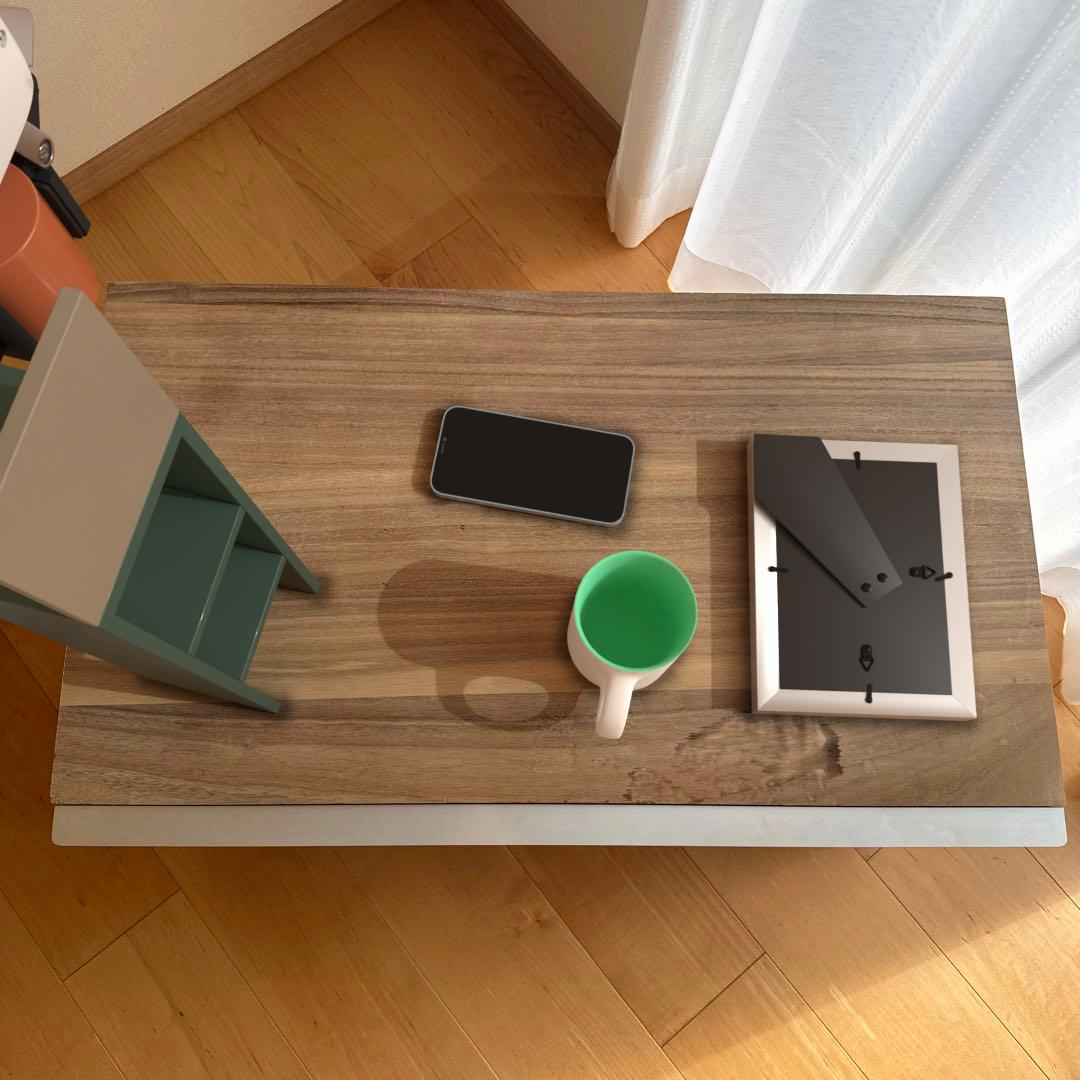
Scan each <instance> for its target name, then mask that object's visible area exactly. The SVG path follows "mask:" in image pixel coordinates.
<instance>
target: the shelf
mask: <svg viewBox="0 0 1080 1080" xmlns="http://www.w3.org/2000/svg"><path fill="white" fill-rule="evenodd" d="M27 365H28V366H27V368H26V369H22V368H18V367H14V366H10V365H6V364H2V363H0V619H1V620H4V621H6V622H9V623H11V624H13V625H16V626H18V627H21V628H23V629H26V630H29V631H31V632H32V633H36V634H38V635H40V636H43V637H46V638H48V639H50V640H53V641H55V642H58V643H60V644H63V645H64V646H67V647H69V648H72V649H75V650H77V651H79V652H82V653H83V654H87V655H90V656H92V657H94V658H97V659H99V660H101V661H103V662H107V663H109V664H112V665H114V666H117V667H118V668H121V669H124V670H126V671H129V672H131V673H134V674H136V675H139V676H141V677H143V678H146V679H148V680H152V681H156V682H160V683H163V684H167V685H170V686H174V687H177V688H182V689H185V690H188V691H192V692H196V693H200V694H203V695H208V696H211V697H214V698H218V699H222V700H225V701H229V702H232V703H235V704H240V705H244V706H246V707H247V706H248V707H251V708H254V709H259V710H262V711H265V712H270V713H271V714H272V713H273V714H276V715H277V714H279V711H280V708H281V705H282V703H281V702H280V701H277V700H275V699H274V698H272V697H270V696H268V695H266V694H264V693H262V692H260V691H259V690H257V689H255V688H253V687H252V686H249V685H248V684H245V683H246V680H247V677H248V674H249V671H250V668H251V665H252V662H253V659H254V656H255V653H256V651H257V648H258V645H259V642H260V639H261V635H262V633H263V630H264V627H265V624H266V621H267V618H268V616H269V612H270V609H271V606H272V603H273V600H274V597H275V594H276V591H277V588H278V585H282V586H286V587H289V588H292V589H293V588H294V589H297V590H300V591H304V592H308V593H310V594H311V593H313V594H318V592H319V589H320V586H321V584H320V582H319V581H318V580H317V579H316V578H315V576H314V574H312V572H310V570H309V569H308V568H307V566H306V565H305V564H304V562H302V560H301V559H300V558H299V556H298V555H297V554H296V553H295V552H294V551H293V549H292V548H291V547H290V545H289V544H288V543H287V542H286V540H285V539H284V537H282V535H281V534H280V532H278V531H277V529H276V528H275V527H274V526H273V524H272V523H271V521H269V519H268V517H266V515H265V514H264V513H263V512H262V511H261V509H260V508H259V506H257V505H256V503H255V502H254V501H253V499H252V498H251V497H250V496H249V495H248V493H247V492H246V491H245V490H244V488H243V487H242V486H241V485H240V483H239V482H238V481H237V480H236V478H235V477H234V476H233V475H232V473H231V472H230V471H229V470H228V469H227V467H226V466H225V465H224V463H222V461H221V460H220V459H219V457H218V456H217V455H216V454H215V452H214V451H213V450H212V448H211V447H210V446H209V445H208V443H206V441H205V440H204V439H203V437H202V436H201V435H200V434H199V432H198V431H197V430H196V429H195V427H194V426H193V425H192V424H191V422H190V421H189V420H188V419H187V418H186V417H185V415H184V414H183V413H182V412H181V411H180V409H179V408H178V406H176V404H175V403H174V402H173V400H172V399H171V398H170V396H169V395H168V394H167V393H166V392H165V391H164V389H163V388H162V387H161V385H160V384H159V383H158V382H157V381H156V379H155V378H154V376H152V374H151V373H150V372H149V370H148V369H146V367H145V365H144V364H142V362H141V361H140V360H139V358H138V357H137V356H136V355H135V353H134V352H133V351H132V349H130V348H129V346H128V345H127V344H126V342H125V341H124V340H123V338H121V336H120V335H119V333H118V332H117V331H116V330H115V328H114V327H113V326H112V325H111V324H110V323H109V321H108V320H107V319H106V318H105V316H104V315H103V314H102V312H101V311H100V310H99V309H98V308H97V306H96V305H94V304H93V303H92V302H91V300H90V299H89V298H88V297H87V295H86V294H85V293H84V292H83V291H82V290H78V289H74V288H70V287H66V286H62V287H61V290H60V292H59V294H58V297H57V299H56V301H55V304H54V306H53V308H52V311H51V313H50V316H49V318H48V320H47V323H46V325H45V327H44V330H43V332H42V335H41V337H40V339H39V342H38V344H37V346H36V349H35V351H34V353H33V356H32V358H31V361H30V362H29V363H28V364H27Z"/></svg>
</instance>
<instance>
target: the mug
mask: <svg viewBox="0 0 1080 1080" xmlns="http://www.w3.org/2000/svg"><path fill="white" fill-rule="evenodd" d="M698 614H699V613H698V601H697V598H696V594H695V591H694V588H693V587H692V584H691V582H690V581H689V579H688V578H687V577H686V575H685V574H684V573H683V572H682V570H681V569H680V568H679V567H678V566H676V564H674V563H673V562H671V561H670V560H668V559H667V558H665V557H663V556H661V555H659V554H656V553H653V552H649V551H644V550H625V551H619V552H616V553H613V554H610V555H608V556H606V557H603V558H602V559H600V561H597V563H595V564H594V565H593V566H592V567H591V568H590V569H589V570H588V571H587V572H586V574H585V575H584V577H583V578H582V580H581V581H580V584H579V586H578V588H577V591H576V594H575V599H574V602H573V606H572V609H571V614H570V617H569V622H568V627H567V632H566V633H567V634H566V639H567V640H566V641H567V648H568V652H569V655H570V657H571V660H572V662H573V664H574V666H575V667H576V669H577V670H578V672H580V674H581V675H582V676H583V677H584V678H586V679H587V680H588V681H589V682H591V683H592V684H593V685H596V686H597V687H599V700H598V705H597V711H596V718H595V724H594V732H595V734H596V735H597V736H599V737H601V738H605V739H609V740H617V739H620V738H621V737H622V735H623V732H624V729H625V726H626V722H627V719H628V714H629V709H630V705H631V700H632V694H633V691H637V690H640V689H644V688H645V687H648V686H649V685H651V684H653V683H654V682H656V681H657V680H658V679H659V678H660V677H661V676H662V675H663V674H664V673H665V672H666V670H667V669H669V668H670V666H671V665H673V663H674V662H675V661H676V660H677V659H678V658H679V657H680V656H681V655H682V654H683V653H684V651H685V650H686V649H687V648H688V647H689V644H690V643H691V642H692V639H693V637H694V635H695V632H696V628H697V625H698V616H699V615H698Z"/></svg>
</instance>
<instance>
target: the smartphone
mask: <svg viewBox="0 0 1080 1080" xmlns="http://www.w3.org/2000/svg"><path fill="white" fill-rule="evenodd" d="M437 439H438V440H437V444H436V449H435V454H434V458H433V463H432V468H431V472H430V477H429V483H430V484H429V485H430V488H431V491H432V492H433V494H434V495H435V496H437V497H439V498H444V499H448V500H454V501H459V502H465V503H471V504H475V505H483V506H487V507H493V508H499V509H505V510H511V511H516V512H521V513H528V514H533V515H537V516H538V515H539V516H543V517H550V518H555V519H561V520H567V521H572V522H578V523H584V524H589V525H594V526H600V527H605V528H606V527H607V528H612V527H613V528H614V527H615V526H618V525H619V524H620V523H622V520H623V518H624V516H625V512H626V507H627V503H628V502H627V500H628V495H629V489H630V482H631V478H632V477H631V476H632V472H633V465H634V464H633V463H634V458H635V452H636V446H635V443H634V441H633V440H632V439H631V437H629V436H627V435H626V434H622V433H616V432H612V431H604V430H599V429H594V428H590V427H589V428H588V427H582V426H577V425H572V424H565V423H561V422H560V423H559V422H554V421H549V420H542V419H537V418H532V417H526V416H521V415H514V414H509V413H503V412H497V411H492V410H487V409H486V410H485V409H480V408H475V407H469V406H464V405H454V406H451V407H449V408H448V409H446V411H445V412H444V414H443V417H442V421H441V426H440V429H439V435H438V438H437Z"/></svg>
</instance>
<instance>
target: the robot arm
mask: <svg viewBox="0 0 1080 1080" xmlns="http://www.w3.org/2000/svg"><path fill="white" fill-rule="evenodd" d="M30 67H31V68H32V67H34V17H33V14H32V12H31V11H30V9H28V8H26V7H23V6H17V5H13V4H8V3H4V2H0V184H1V181H2V179H3V177H4V174H5V172H6V170H7V167H8V165H9V162H10V163H12V164H13V165H15V166H17V167H18V168H19V169H21V170H22V171H23V172H24V173H25V174H26V175H27V176H28V177H29V178H30V180H31V181H32V183H33V184H34V185H35V187H36V188H37V189H38V191H39V192H40V193H41V195H42V196H43V197H44V199H45V200H46V201H47V203H48V204H49V205H50V207H51V208H52V209H53V211H54V212H55V213H56V215H57V216H58V217H59V219H60V220H61V221H62V223H63V224H64V226H65V227H66V228H67V230H68V231H69V232H70V234H71V235H72V236H73V238H74V239H78V240H79V239H80V240H81V239H83V237H87V236H88V234H89V232H90V228H91V226H92V223H91V221H90V219H89V218H88V217H87V215H86V214H85V213H84V211H83V209H82V208H81V207H80V205H79V204H78V202H77V201H76V199H75V198H74V197H73V195H72V193H71V192H70V190H69V189H68V187H67V186H66V184H65V183H64V181H63V180H62V179H61V177H60V175H59V174H58V172H57V171H56V170H55V169H54V167H53V165H52V163H53V162H54V158H55V151H56V150H55V143H54V141H53V139H52V138H51V136H50V135H48V134H47V133H45V132H44V131H42V130H41V119H40V116H41V115H40V97H39V95H40V88H39V83H38V80H37V77H36V75H35V74H34V73H33V72H31V70H30ZM37 344H38V342H37V341H36V340H35V339H34V338H33V337H32V336H31V335H30V334H29V333H28V332H27V331H26V330H25V329H24V328H23V327H22V326H21V325H20V324H19V323H18V322H17V321H16V320H15V319H14V318H13V316H12V315H11V314H10V313H9V312H8V311H7V310H6V309H5V308H4V307H3V306H1V305H0V364H2V360H3V358H4V357H9V358H13V359H17V360H21V361H25V362H29V363H30V361H31V358H32V356H33V353H34V351H35V349H36V346H37Z"/></svg>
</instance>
